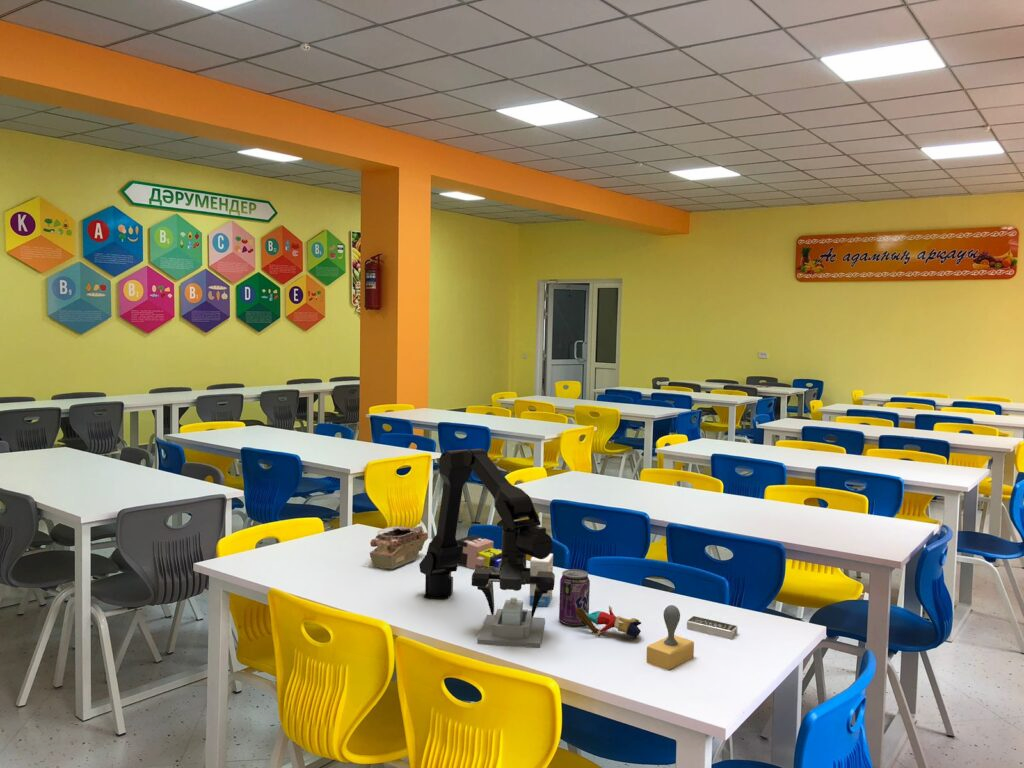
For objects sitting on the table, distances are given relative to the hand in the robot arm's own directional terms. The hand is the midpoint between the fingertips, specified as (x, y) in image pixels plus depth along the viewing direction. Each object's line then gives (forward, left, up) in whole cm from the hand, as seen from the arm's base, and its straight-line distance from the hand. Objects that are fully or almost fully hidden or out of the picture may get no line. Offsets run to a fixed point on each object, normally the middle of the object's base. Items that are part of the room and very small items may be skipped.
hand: (512, 615), depth 186 cm
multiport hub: (+46, +8, -5) cm, 47 cm away
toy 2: (+22, +2, -4) cm, 22 cm away
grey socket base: (0, 0, -4) cm, 4 cm away
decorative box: (-40, +52, -4) cm, 66 cm away
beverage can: (+14, +9, -4) cm, 17 cm away
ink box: (+5, +23, -4) cm, 24 cm away
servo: (0, 0, -3) cm, 3 cm away
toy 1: (-14, +51, -4) cm, 53 cm away
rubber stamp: (+35, -10, -4) cm, 37 cm away
